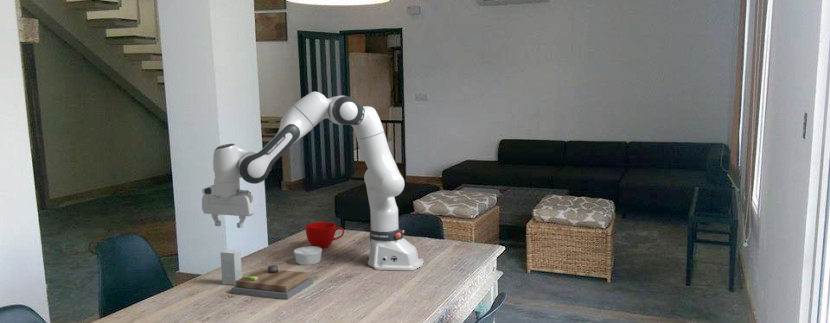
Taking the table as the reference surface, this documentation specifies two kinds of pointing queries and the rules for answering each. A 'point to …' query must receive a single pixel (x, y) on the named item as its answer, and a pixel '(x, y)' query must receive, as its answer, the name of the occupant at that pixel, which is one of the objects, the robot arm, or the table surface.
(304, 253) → the ramekin
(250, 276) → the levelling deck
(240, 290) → the grey rectangular slab
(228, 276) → the skincare box
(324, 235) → the ceramic cup
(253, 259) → the table surface
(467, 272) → the table surface
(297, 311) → the table surface
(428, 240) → the table surface
